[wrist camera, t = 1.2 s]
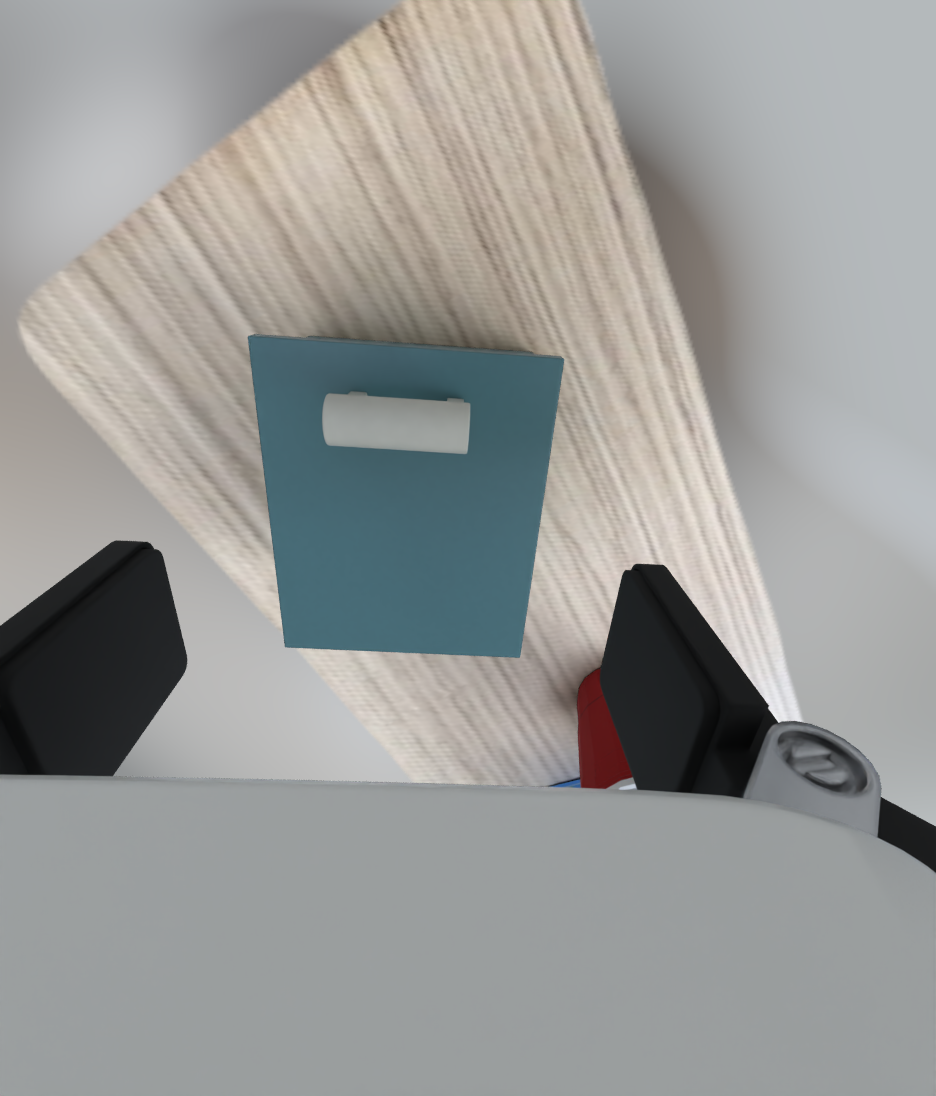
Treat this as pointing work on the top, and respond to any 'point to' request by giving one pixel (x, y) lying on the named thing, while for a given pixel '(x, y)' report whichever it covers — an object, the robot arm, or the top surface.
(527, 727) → the top surface
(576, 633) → the top surface
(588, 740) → the plastic cup
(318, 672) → the top surface
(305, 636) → the lid
